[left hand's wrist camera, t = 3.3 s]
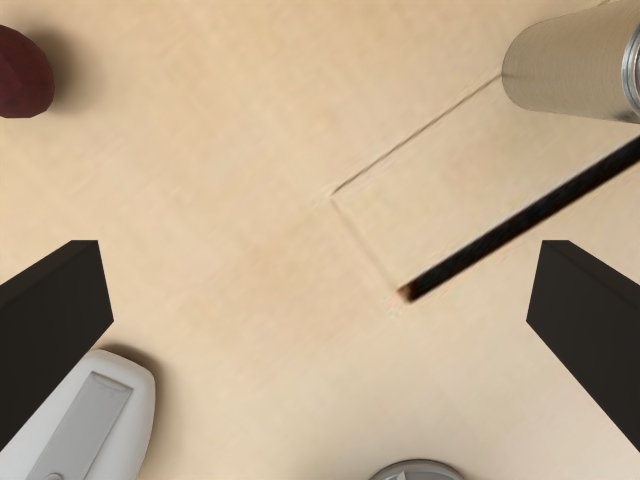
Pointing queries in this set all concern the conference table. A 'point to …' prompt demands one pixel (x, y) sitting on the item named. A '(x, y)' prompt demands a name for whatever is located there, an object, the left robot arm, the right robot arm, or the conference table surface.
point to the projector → (87, 425)
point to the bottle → (579, 64)
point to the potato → (23, 76)
